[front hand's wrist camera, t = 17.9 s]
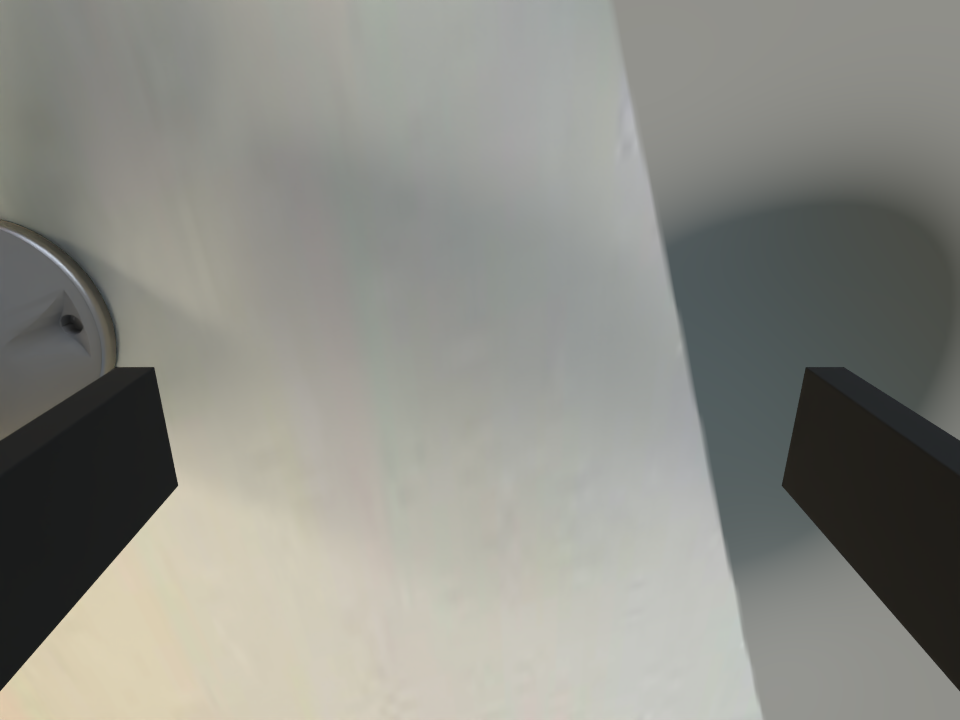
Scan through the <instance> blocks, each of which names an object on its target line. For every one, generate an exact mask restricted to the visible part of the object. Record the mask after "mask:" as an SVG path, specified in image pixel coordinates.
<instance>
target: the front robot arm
mask: <svg viewBox="0 0 960 720" xmlns="http://www.w3.org/2000/svg"><path fill="white" fill-rule="evenodd" d="M115 362H116V339H115V332H114V327H113V323H112V320H111V317H110V314H109V311H108V309H107V307H106V304H105V302H104V300H103V298H102V296H101V295H100V293H99V291H98V290H97V288H96V286H95V285H94V283H93V282H92V281H91V279H90V278H89V277H88V275H87V274H86V273H85V272H84V271H83V269H82V268H81V267H80V266H79V265H78V264H77V263H76V262H75V261H74V260H73V259H72V258H71V257H70V256H69V255H67V254H66V253H65V252H64V251H63V250H61V249H60V248H59V247H58V246H56V245H55V244H53V243H52V242H50V241H49V240H47V239H46V238H44V237H42V236H40V235H39V234H37V233H35V232H33V231H31V230H29V229H27V228H25V227H22V226H19V225H17V224H14V223H11V222H8V221H4V220H0V691H1V690H2V689H3V687H4V686H5V685H6V684H7V683H8V682H9V680H10V679H11V678H12V677H13V676H14V675H15V674H16V672H17V671H18V670H19V669H20V668H21V667H22V665H23V664H24V663H25V662H26V661H27V660H28V659H29V657H30V656H31V655H32V654H33V653H34V652H35V650H36V649H37V648H38V647H39V646H40V645H41V644H42V642H43V641H44V640H45V639H46V638H47V637H48V635H49V634H50V633H51V632H52V631H53V630H54V628H55V627H56V626H57V625H58V624H59V623H60V622H61V620H62V619H63V618H64V617H65V616H66V615H67V613H68V612H69V611H70V610H71V609H72V608H73V607H74V605H75V604H76V603H77V602H78V601H79V600H80V598H81V597H82V596H83V595H84V594H85V593H86V592H87V590H88V589H89V588H90V587H91V586H92V585H93V583H94V582H95V581H96V580H97V579H98V578H99V576H100V575H101V574H102V573H103V572H104V571H105V570H106V568H107V567H108V566H109V565H110V564H111V563H112V561H113V560H114V559H115V558H116V557H117V556H118V555H119V553H120V552H121V551H122V550H123V549H124V548H125V546H126V545H127V544H128V543H129V542H130V541H131V540H132V538H133V537H134V536H135V535H136V534H137V533H138V531H139V530H140V529H141V528H142V527H143V526H144V524H145V523H146V522H147V521H148V520H149V519H150V518H151V516H152V515H153V514H154V513H155V512H156V511H157V509H158V508H159V507H160V506H161V505H162V504H163V503H164V501H165V500H166V499H167V498H168V497H169V496H170V494H171V493H172V492H173V491H174V490H175V489H176V488H177V486H178V482H177V477H176V473H175V468H174V463H173V458H172V453H171V448H170V443H169V438H168V433H167V428H166V423H165V418H164V413H163V408H162V403H161V399H160V394H159V389H158V384H157V379H156V374H155V369H154V367H116V368H114V367H115ZM782 486H783V488H784V489H785V490H786V491H787V492H788V493H789V494H790V496H791V497H792V498H793V499H794V500H795V501H796V503H797V504H798V505H799V506H800V507H801V508H802V509H803V511H804V512H805V513H806V514H807V515H808V516H809V517H810V519H811V520H812V521H813V522H814V523H815V524H816V526H817V527H818V528H819V529H820V530H821V531H822V533H823V534H824V535H825V536H826V537H827V538H828V540H829V541H830V542H831V543H832V544H833V545H834V546H835V547H836V549H837V550H838V551H839V552H840V553H841V555H842V556H843V557H844V558H845V559H846V560H847V561H848V563H849V564H850V565H851V566H852V567H853V568H854V570H855V571H856V572H857V573H858V574H859V575H860V576H861V578H862V579H863V580H864V581H865V582H866V583H867V585H868V586H869V587H870V588H871V589H872V590H873V591H874V593H875V594H876V595H877V596H878V597H879V598H880V600H881V601H882V602H883V603H884V604H885V605H886V606H887V608H888V609H889V610H890V611H891V612H892V613H893V615H894V616H895V617H896V618H897V619H898V620H899V622H900V623H901V624H902V625H903V626H904V627H905V628H906V630H907V631H908V632H909V633H910V634H911V635H912V637H913V638H914V639H915V640H916V641H917V642H918V643H919V645H920V646H921V647H922V648H923V649H924V650H925V652H926V653H927V654H928V655H929V656H930V657H931V658H932V660H933V661H934V662H935V663H936V664H937V665H938V667H939V668H940V669H941V670H942V671H943V672H944V673H945V675H946V676H947V677H948V678H949V679H950V680H951V682H952V683H953V684H954V685H955V686H956V687H957V689H958V690H959V691H960V441H959V440H958V439H956V438H955V437H953V436H952V435H950V434H948V433H947V432H945V431H944V430H942V429H941V428H939V427H937V426H936V425H934V424H933V423H931V422H929V421H928V420H926V419H925V418H923V417H922V416H920V415H918V414H917V413H915V412H914V411H912V410H911V409H909V408H907V407H906V406H904V405H903V404H901V403H899V402H898V401H896V400H895V399H893V398H892V397H890V396H888V395H887V394H885V393H884V392H882V391H881V390H879V389H877V388H876V387H874V386H873V385H871V384H869V383H868V382H866V381H865V380H863V379H862V378H860V377H858V376H857V375H855V374H854V373H852V372H851V371H849V370H847V369H846V368H844V367H806V369H805V374H804V379H803V384H802V389H801V394H800V399H799V403H798V408H797V413H796V418H795V423H794V428H793V433H792V438H791V443H790V448H789V453H788V458H787V463H786V468H785V473H784V478H783V482H782Z"/></svg>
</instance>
